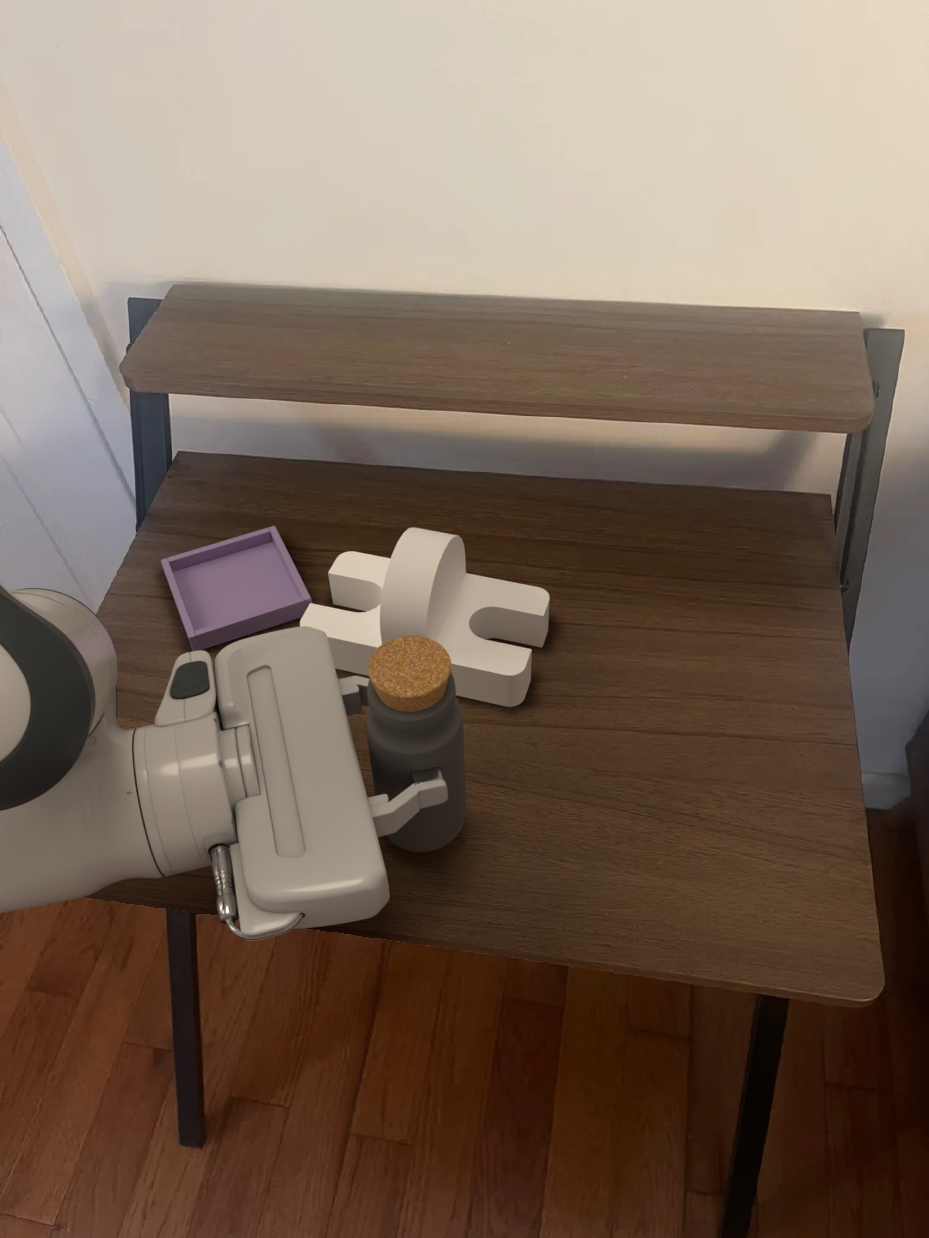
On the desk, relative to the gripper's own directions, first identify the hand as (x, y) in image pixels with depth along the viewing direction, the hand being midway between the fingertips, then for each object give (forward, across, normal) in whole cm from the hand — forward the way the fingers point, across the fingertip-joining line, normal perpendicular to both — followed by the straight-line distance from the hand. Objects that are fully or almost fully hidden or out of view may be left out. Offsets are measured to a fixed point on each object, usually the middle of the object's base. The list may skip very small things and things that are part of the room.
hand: (430, 736), depth 62 cm
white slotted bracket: (+4, +17, +10) cm, 20 cm away
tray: (-10, +27, +10) cm, 31 cm away
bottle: (-1, 0, +8) cm, 8 cm away
